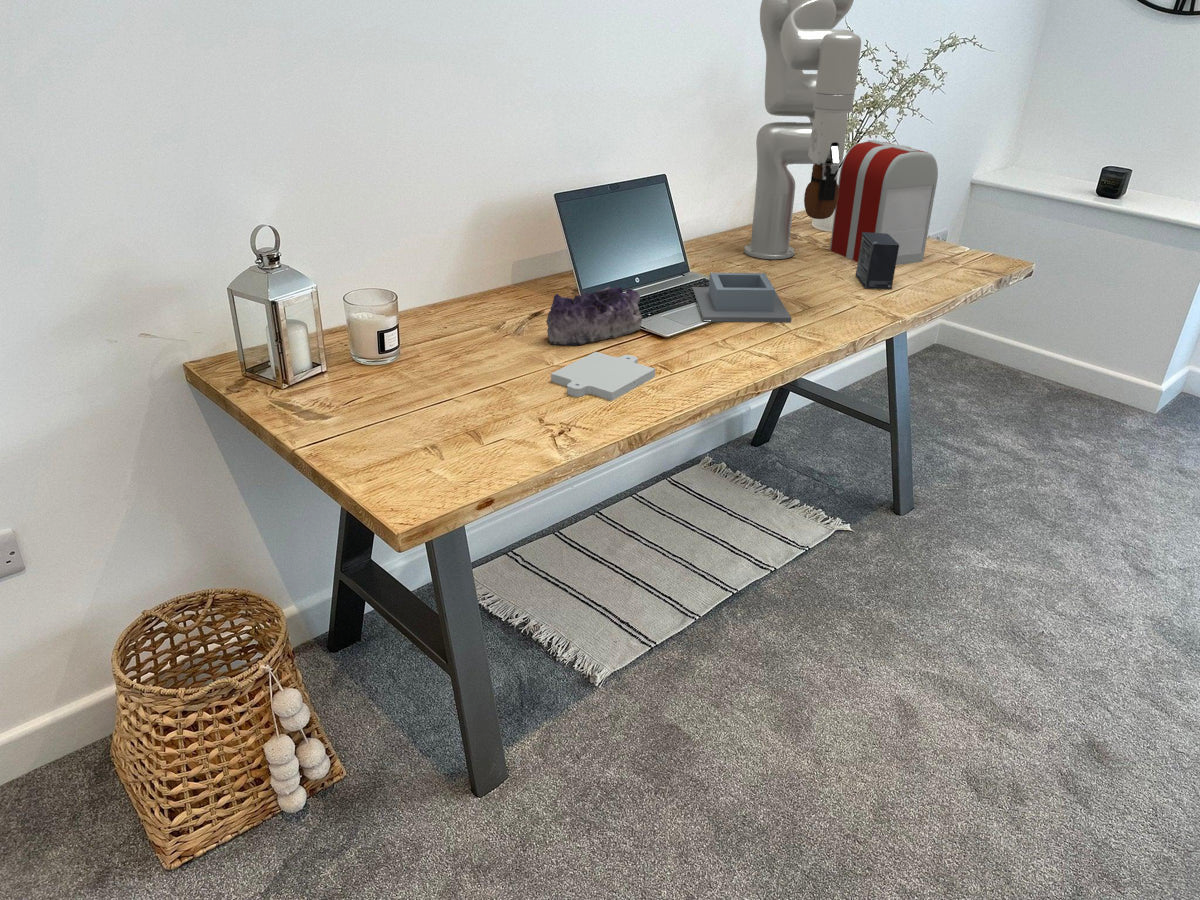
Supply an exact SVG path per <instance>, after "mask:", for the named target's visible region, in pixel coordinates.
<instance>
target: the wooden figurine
mask: <svg viewBox="0 0 1200 900" xmlns="http://www.w3.org/2000/svg"><path fill="white" fill-rule="evenodd" d="M826 163H831V161H826ZM812 168H813V171H811V176H812V175H813V178H814V179H816V180H813V181H811V180H810V182H809V183H808V184H807V185H806V188H805V189H804V190H805V191H804V196H803V197H804V198H803V204H804V209H805V212H806V215H807V216H808V217H809V218H811V219H815V220H825V219H828V218H830V217H831V216H832V215H833V214H834V213H835V208H836V205H837V202H838V197H839V186H838V184H839V183H838V182H837V183H836V190H835V198H834V200H819V199H818V193H819V185H820V179H822V163H821V165H817V164H816V163H815V165H814V167H813V166H812ZM827 169H828V168H826V172H827Z"/></svg>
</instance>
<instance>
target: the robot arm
mask: <svg viewBox="0 0 1200 900" xmlns="http://www.w3.org/2000/svg"><path fill="white" fill-rule="evenodd" d="M853 3H854V0H761V3H760V9H759V25H760V27H759V28H760V32H761V36H762V40H763V44H764V47H765V48H764V49H765V55H766V56H765V79H764V80H765V81H764V109H765V110H766V112H767V113H768V114H770V115H771V116H777V117H806V118H808V119H809V122H797V121H796V122H795V121H785V122H784V121H776V122H775V121H774V122H769V123H766V124H764V125H763V126H762V127H760V128H759V130H758V131H757V134H756V141H755V142H756V163H757V164H756V166H757V167H756V183H755V196H754V205H753V208H754V209H753V218H752V227H751V228H752V229H751V238H750V240H751V241H750V243H749V244H746V245H745V246H744V248H743V249H744V250H743V252H744V253H745V254H746V255H747V256H750V257H753V258H757V259H765V260H785V259H789V258H791V257H793V256H794V255H795V249H794V248H793V246H790V240H791V239H790V238H791V229H792V222H793V220H792V219H793V211H794V204H795V203H794V202H795V194H796V179H795V178H794V176H793V175H792V173H791V171H790V170H789V169H788V165H812V171H813V167H814V165H815V163H816V164H817V165H821V163H822V179H820V185H819V193H818V199H819V200H834V198H835V190H836V183H837V184H838V182H837V180H838V172H839V168H840V166H841V165H842V162H843V160H844V153H845V146H846V145H845V144H846V139H847V138H846V137H847V135H846V134H847V125H848V114H849V113H850V114H851V113H852V112H853V108H854V100H855V92H856V86H857V78H858V70H859V64H860V56H861V49H862V39H861V37H860V35H858V34H856V33H854V32H853V31H852V30H849V29H835V27H836V26H837V25H838V24H839V23H840V22H841V20H843V19H844V18H845V16H846V15H847V14H849V12H850V10H851V8H852V7H853ZM804 71H816V72H817V73H804ZM826 161H831V163H826ZM826 168H828V169H827V172H826ZM812 171H811V172H812ZM813 180H816V179H814V178H813V175H812V174H811V177H810V182H811V181H813Z"/></svg>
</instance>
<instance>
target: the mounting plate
mask: <svg viewBox="0 0 1200 900" xmlns="http://www.w3.org/2000/svg"><path fill="white" fill-rule="evenodd" d="M638 361H639V359H638V356H634V355H631V354H623V355H621V356H612V355H609V354H605V353H601V352H598V351H595V352H592V353H590V354H588V355H586V356H584V357H583V358H580V359H577V360H575V361H574V362H572V363H570V364H567V365H565V366H564V367H562V368H559V369H557V370H556V371H553V372H551V373H550V382H551V383H554V384H557V385H561V386H563V387H567V388H566V389H567V391H566V394H567V395H569V396H571V397H574V398H582V397H584V396H586V395H592V396H595V397H599V398H602V399H606V400H608V401H615V400H616V399H618V398H619V397H621V396H623V395H625V394H626V393H628V392H630V391H632V390H634V389H636V388H638V387H639V386H641V385H643V384H644V383H646V382H648V381H650V380H652V379H654V378H655V377H656V368H655V367H650V366H647V365H644V364H640V363H639V362H638Z"/></svg>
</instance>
